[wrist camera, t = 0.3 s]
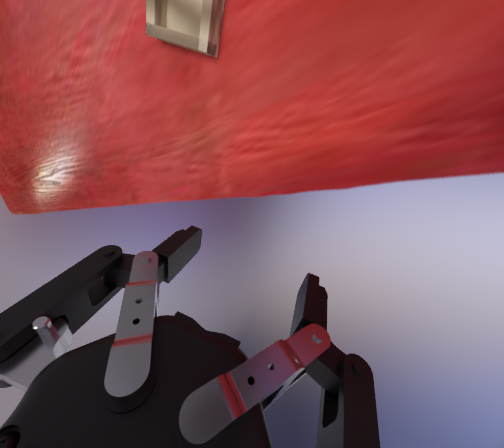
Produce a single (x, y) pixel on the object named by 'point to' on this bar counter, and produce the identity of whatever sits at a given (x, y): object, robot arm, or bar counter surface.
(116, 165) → the bar counter surface
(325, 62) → the bar counter surface
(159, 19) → the rest
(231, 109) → the bar counter surface
